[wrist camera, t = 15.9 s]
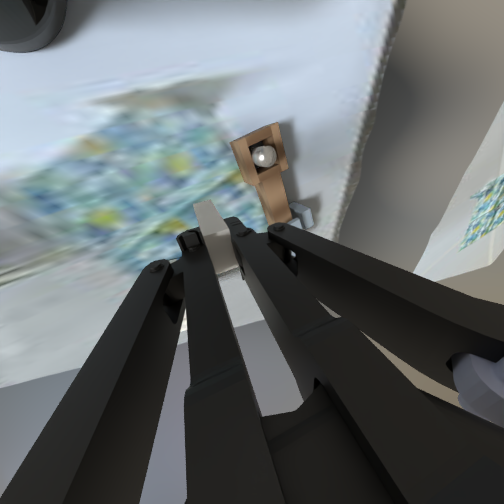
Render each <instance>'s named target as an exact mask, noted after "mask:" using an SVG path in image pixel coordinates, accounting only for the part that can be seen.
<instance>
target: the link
mask: <svg viewBox="0 0 504 504" xmlns="http://www.w3.org/2000/svg"><path fill="white" fill-rule="evenodd" d="M261 140H262V143H263V146H271V147H273V148H274V149H275V151H276V161H275V163H274V164H273V165H272V166H271V167H262V166H260V167H258V168H256V169H255V166H254V163H253V160H252V157H251V154H250V151H249V148H248V147H249V146H251V145H253V144H255V143H257V142H259V141H261ZM230 145H231V148H232V150H233V153H234V156H235V158H236V161H237V163H238V166H239V169H240V171H241V174H242V177H243V179H244V182H246V183H248V184H250V185H252V186H254V185H255V187H256V190H257V193H258V196H259V199H260V201H261V204H262V207H263V210H264V213H265V216H266V218H267V221H268V224H269V226H270V225H271V224H274V223H277V222H281V223H288V222H289V221H291V220H292V216H291V212H290V208H289V204H288V201H287V197H286V193H285V189H284V185H283V182H282V178H281V174H280V172H282V171H284V170H286V169H288V164H287V160H286V155H285V151H284V147H283V142H282V138H281V134H280V130H279V125H278V122H277V123H273V124H270V125H267V126H264V127H262V128H260V129H257V130H255V131H253V132H251V133H249V134H247V135H245V136H243V137H240V138H238V139H236V140H234V141H232V142H230Z"/></svg>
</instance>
